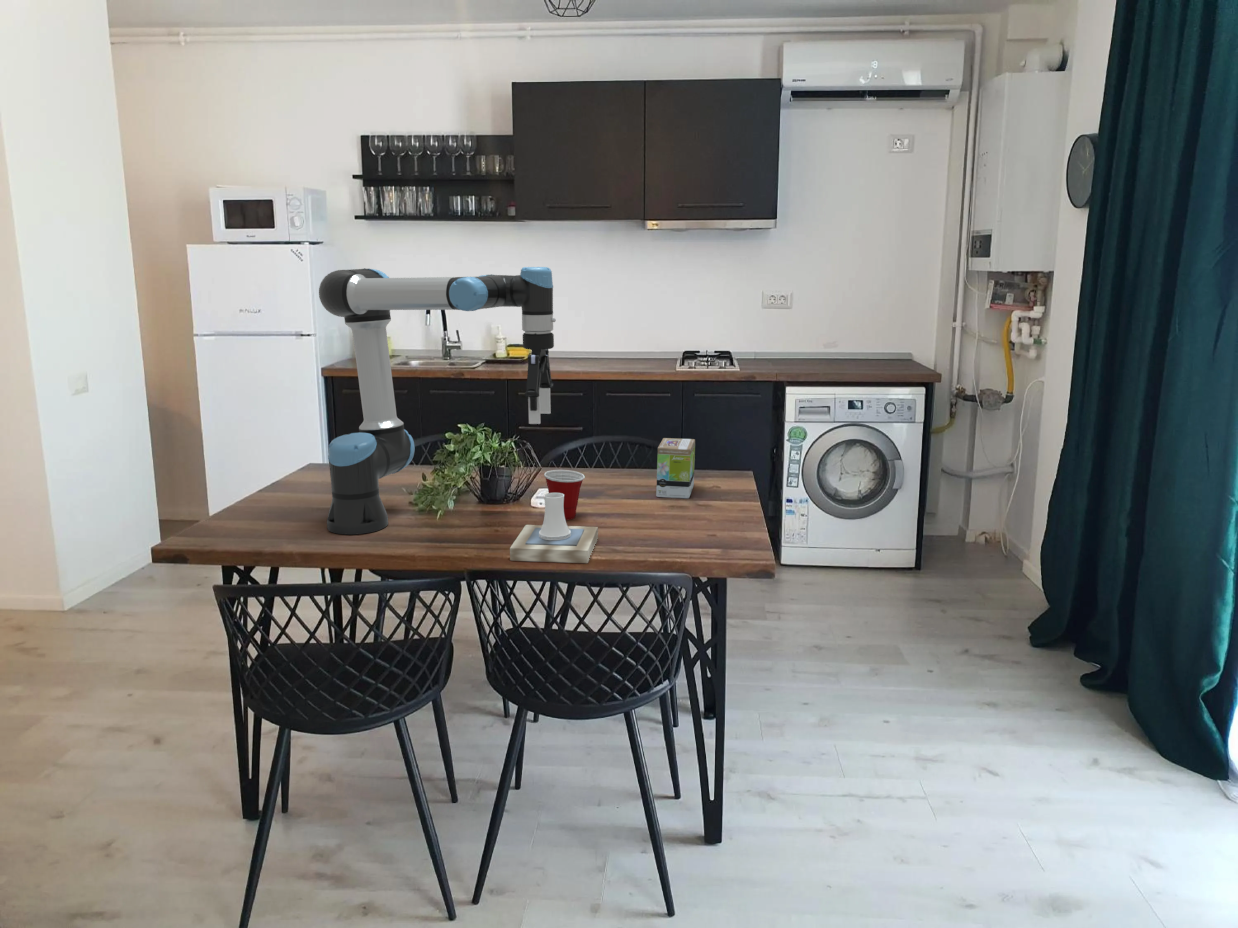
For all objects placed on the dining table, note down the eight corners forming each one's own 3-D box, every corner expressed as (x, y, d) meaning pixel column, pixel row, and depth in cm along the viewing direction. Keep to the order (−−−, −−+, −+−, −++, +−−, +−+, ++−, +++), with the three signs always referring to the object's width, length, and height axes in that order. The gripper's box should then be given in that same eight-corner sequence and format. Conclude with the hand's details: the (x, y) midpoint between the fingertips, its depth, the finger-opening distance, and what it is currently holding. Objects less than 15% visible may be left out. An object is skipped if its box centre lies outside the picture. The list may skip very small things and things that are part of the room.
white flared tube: (577, 535, 216) (576, 494, 213) (554, 542, 210) (553, 501, 208) (555, 528, 221) (554, 489, 218) (532, 536, 215) (531, 495, 213)
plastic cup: (580, 524, 235) (579, 479, 233) (539, 522, 237) (538, 477, 235) (589, 512, 246) (589, 469, 243) (551, 510, 248) (550, 467, 245)
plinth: (510, 560, 208) (509, 546, 208) (526, 536, 226) (525, 523, 225) (587, 563, 207) (587, 549, 206) (598, 538, 224) (597, 525, 223)
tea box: (690, 499, 259) (691, 448, 255) (655, 497, 260) (655, 447, 257) (694, 485, 273) (695, 437, 270) (661, 484, 275) (661, 436, 271)
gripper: (543, 337, 207) (545, 428, 212) (562, 327, 231) (563, 409, 236) (511, 337, 208) (514, 427, 213) (533, 327, 232) (535, 409, 237)
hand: (540, 418), depth 225 cm, fingers open, 13 cm apart
